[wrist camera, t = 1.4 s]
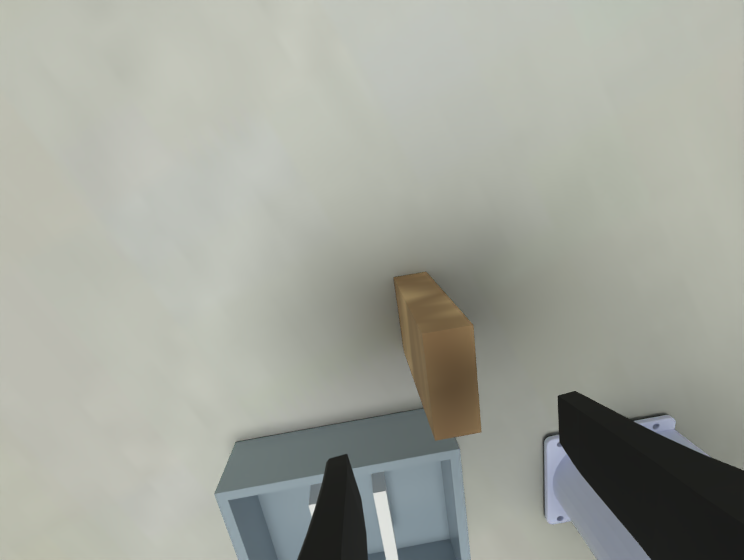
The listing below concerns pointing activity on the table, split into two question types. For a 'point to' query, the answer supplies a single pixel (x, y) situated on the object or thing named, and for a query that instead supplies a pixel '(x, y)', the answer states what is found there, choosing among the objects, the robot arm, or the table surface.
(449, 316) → the wooden rectangular block
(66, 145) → the table surface
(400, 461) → the slotted square caddy
